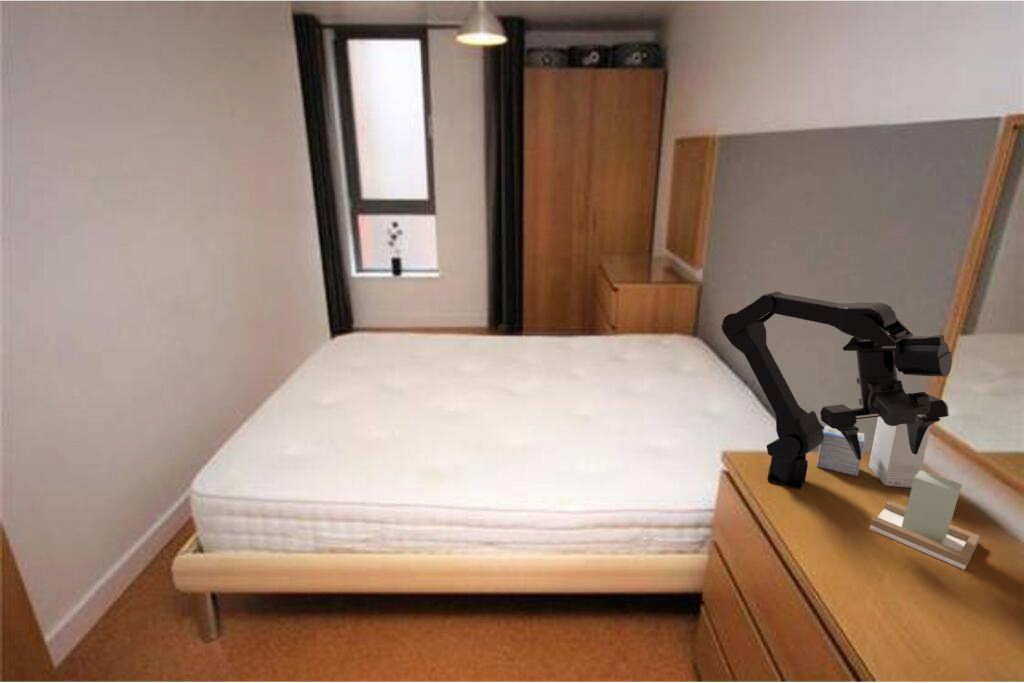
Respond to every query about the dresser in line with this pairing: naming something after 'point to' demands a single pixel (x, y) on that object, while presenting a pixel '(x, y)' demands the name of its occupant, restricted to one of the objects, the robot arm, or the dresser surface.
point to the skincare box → (896, 455)
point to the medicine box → (839, 452)
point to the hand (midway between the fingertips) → (886, 456)
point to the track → (951, 550)
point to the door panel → (931, 506)
